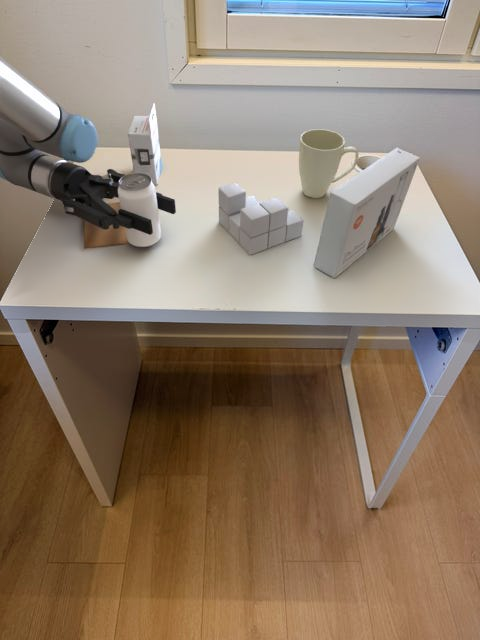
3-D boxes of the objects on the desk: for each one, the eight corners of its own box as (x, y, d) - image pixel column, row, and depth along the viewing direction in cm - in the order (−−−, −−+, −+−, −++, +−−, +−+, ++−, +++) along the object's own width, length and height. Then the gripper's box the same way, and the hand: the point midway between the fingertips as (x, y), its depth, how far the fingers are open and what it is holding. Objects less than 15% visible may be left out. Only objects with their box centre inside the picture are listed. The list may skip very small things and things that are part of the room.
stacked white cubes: (301, 236, 91) (307, 201, 86) (249, 255, 87) (251, 220, 81) (268, 205, 98) (270, 171, 92) (218, 222, 94) (218, 187, 88)
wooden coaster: (83, 248, 88) (83, 247, 87) (85, 206, 97) (84, 205, 97) (158, 240, 90) (158, 239, 89) (152, 199, 99) (152, 198, 99)
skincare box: (336, 281, 83) (355, 204, 71) (312, 267, 85) (325, 190, 74) (397, 229, 93) (421, 155, 82) (373, 218, 96) (394, 144, 84)
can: (168, 234, 89) (161, 178, 80) (146, 252, 86) (136, 195, 77) (142, 223, 92) (133, 167, 83) (119, 240, 88) (107, 183, 79)
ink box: (141, 165, 108) (131, 100, 97) (162, 165, 108) (155, 101, 97) (135, 185, 103) (124, 118, 92) (157, 185, 103) (149, 119, 92)
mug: (317, 210, 97) (326, 157, 89) (285, 189, 103) (290, 137, 94) (352, 193, 102) (364, 140, 93) (320, 174, 107) (328, 122, 98)
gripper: (100, 176, 98) (193, 207, 91) (31, 223, 86) (132, 264, 79) (92, 141, 92) (191, 172, 85) (18, 187, 81) (124, 228, 74)
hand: (162, 216), depth 82 cm, fingers closed on can, 6 cm apart
